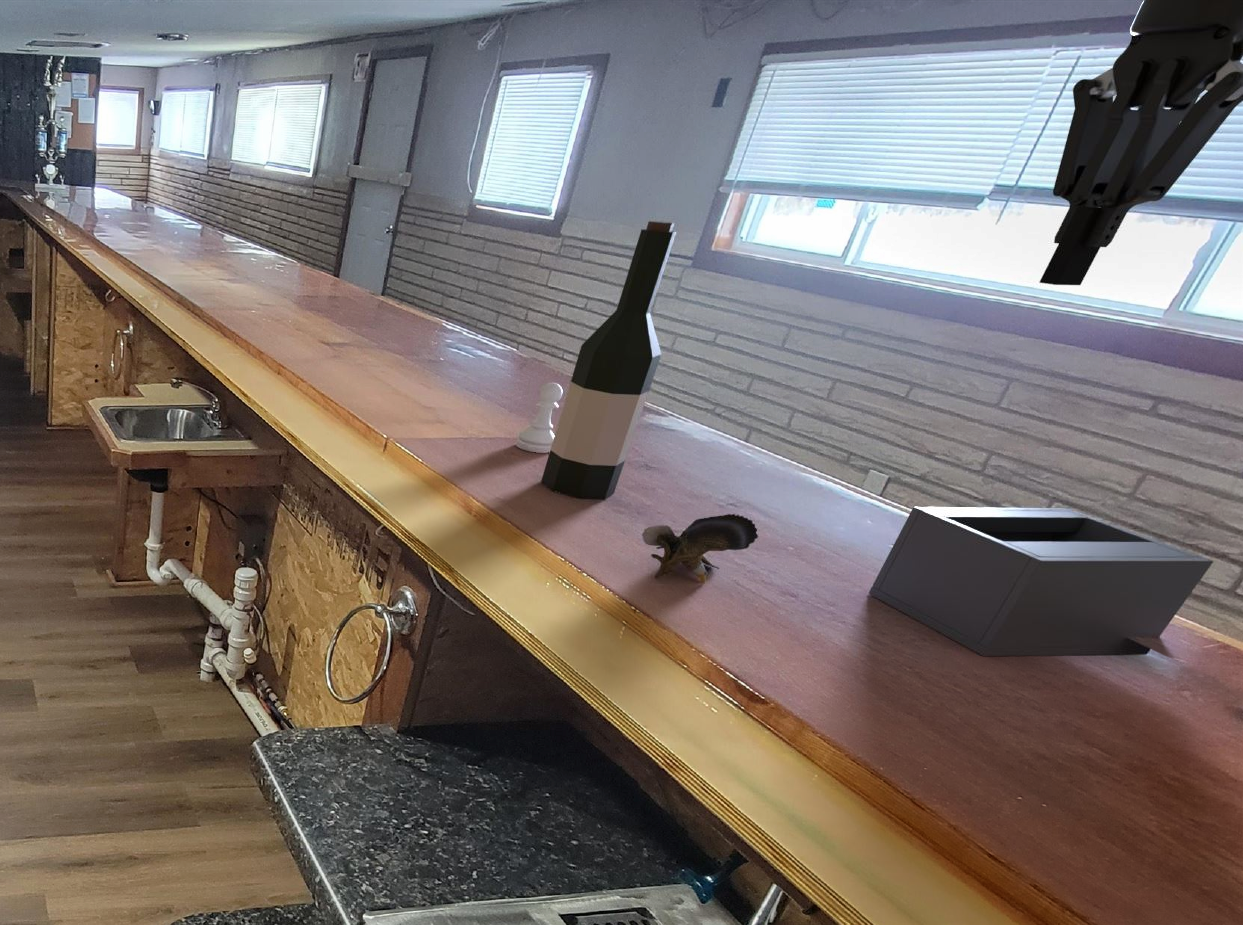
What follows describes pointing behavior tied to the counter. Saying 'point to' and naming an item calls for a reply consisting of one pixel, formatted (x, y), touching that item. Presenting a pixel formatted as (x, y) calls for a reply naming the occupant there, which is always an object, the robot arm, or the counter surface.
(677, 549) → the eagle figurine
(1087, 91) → the robot arm
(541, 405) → the chess pawn
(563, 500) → the counter surface
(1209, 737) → the counter surface
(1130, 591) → the grey cardboard box
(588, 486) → the wine bottle
